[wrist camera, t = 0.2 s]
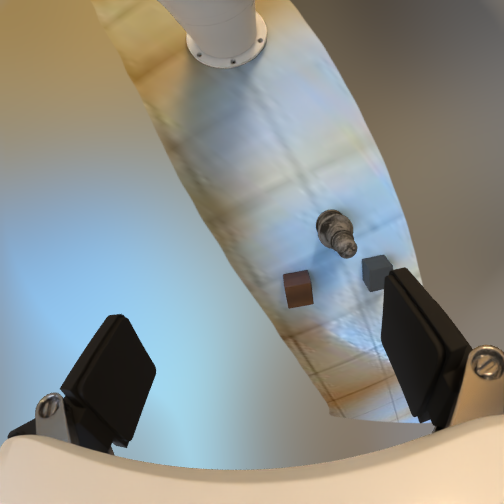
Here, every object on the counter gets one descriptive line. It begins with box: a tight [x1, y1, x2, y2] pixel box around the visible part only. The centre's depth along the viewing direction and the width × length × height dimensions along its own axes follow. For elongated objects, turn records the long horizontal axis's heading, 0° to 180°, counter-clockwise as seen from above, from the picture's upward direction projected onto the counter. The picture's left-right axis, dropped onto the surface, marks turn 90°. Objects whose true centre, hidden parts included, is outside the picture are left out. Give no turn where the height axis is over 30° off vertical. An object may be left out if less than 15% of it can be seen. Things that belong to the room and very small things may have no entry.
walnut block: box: [283, 270, 314, 308], centre depth 48 cm, size 4×4×4 cm
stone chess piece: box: [316, 210, 357, 259], centre depth 40 cm, size 6×6×12 cm
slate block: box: [362, 255, 393, 292], centre depth 46 cm, size 4×4×4 cm
